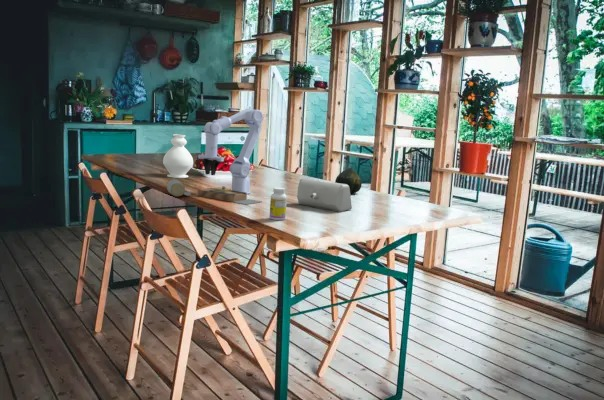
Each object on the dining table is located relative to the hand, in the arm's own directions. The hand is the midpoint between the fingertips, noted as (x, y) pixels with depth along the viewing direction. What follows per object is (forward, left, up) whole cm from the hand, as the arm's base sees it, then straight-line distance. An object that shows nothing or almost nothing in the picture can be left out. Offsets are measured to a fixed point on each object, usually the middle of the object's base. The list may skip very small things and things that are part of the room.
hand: (210, 174), depth 277 cm
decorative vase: (-38, -57, -11) cm, 69 cm away
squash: (-71, +41, -11) cm, 83 cm away
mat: (0, +24, -10) cm, 26 cm away
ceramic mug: (+12, -9, -11) cm, 19 cm away
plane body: (0, +8, -10) cm, 13 cm away
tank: (-16, +54, -11) cm, 57 cm away
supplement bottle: (+22, +55, -11) cm, 60 cm away
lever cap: (0, +8, -7) cm, 11 cm away
